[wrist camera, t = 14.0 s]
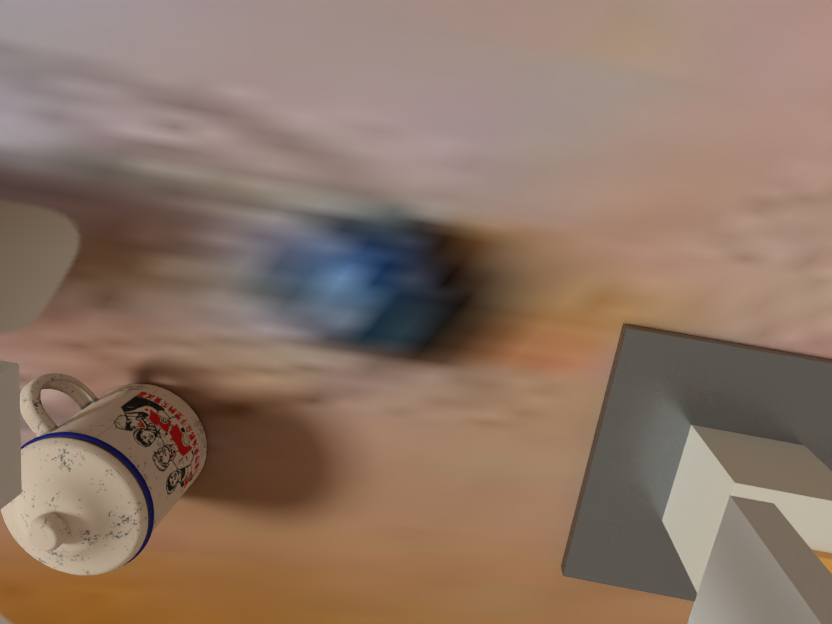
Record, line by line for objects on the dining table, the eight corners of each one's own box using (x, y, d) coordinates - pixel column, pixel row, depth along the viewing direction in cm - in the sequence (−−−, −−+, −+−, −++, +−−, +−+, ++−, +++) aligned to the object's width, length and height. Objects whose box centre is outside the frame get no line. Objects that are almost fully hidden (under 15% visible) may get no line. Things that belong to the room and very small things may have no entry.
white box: (661, 520, 42) (701, 601, 34) (691, 424, 40) (739, 488, 32) (769, 541, 41) (832, 627, 34) (804, 445, 39) (878, 514, 32)
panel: (623, 323, 39) (648, 355, 34) (918, 374, 39) (996, 416, 33) (561, 566, 44) (573, 630, 39) (821, 616, 44) (874, 689, 38)
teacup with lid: (237, 461, 45) (157, 569, 33) (140, 515, 47) (33, 634, 35) (135, 319, 43) (13, 383, 31) (37, 382, 44) (-111, 463, 33)
